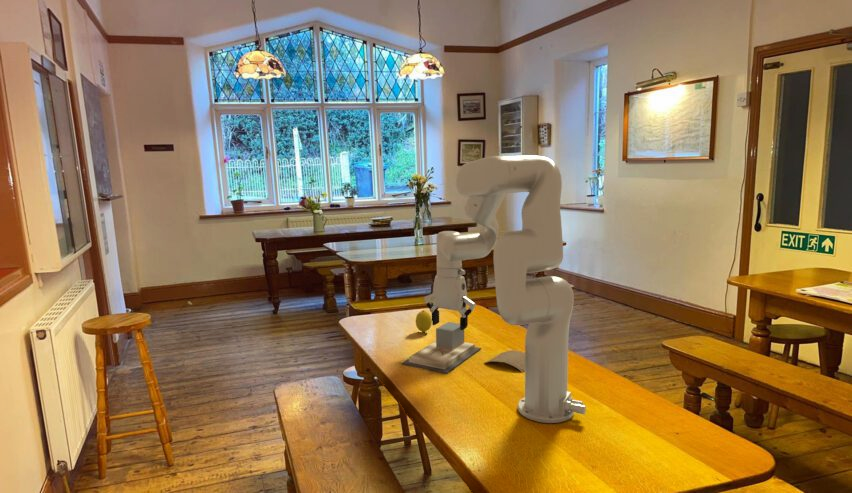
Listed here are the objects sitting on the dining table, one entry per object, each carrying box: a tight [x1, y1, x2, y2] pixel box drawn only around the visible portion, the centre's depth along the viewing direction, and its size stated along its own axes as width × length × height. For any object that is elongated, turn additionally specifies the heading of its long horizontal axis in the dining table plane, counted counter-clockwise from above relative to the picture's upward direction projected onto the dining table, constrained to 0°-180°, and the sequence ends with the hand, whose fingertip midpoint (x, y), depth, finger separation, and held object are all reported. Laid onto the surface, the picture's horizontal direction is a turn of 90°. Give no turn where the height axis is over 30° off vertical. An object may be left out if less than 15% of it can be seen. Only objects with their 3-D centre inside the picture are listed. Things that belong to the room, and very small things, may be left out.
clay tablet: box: [484, 350, 525, 374], centre depth 149 cm, size 14×10×3 cm
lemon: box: [415, 309, 432, 334], centre depth 178 cm, size 6×6×8 cm
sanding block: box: [435, 321, 465, 351], centre depth 159 cm, size 8×6×6 cm
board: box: [401, 340, 482, 375], centre depth 155 cm, size 22×15×2 cm
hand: (449, 326), depth 159 cm, fingers open, 9 cm apart
